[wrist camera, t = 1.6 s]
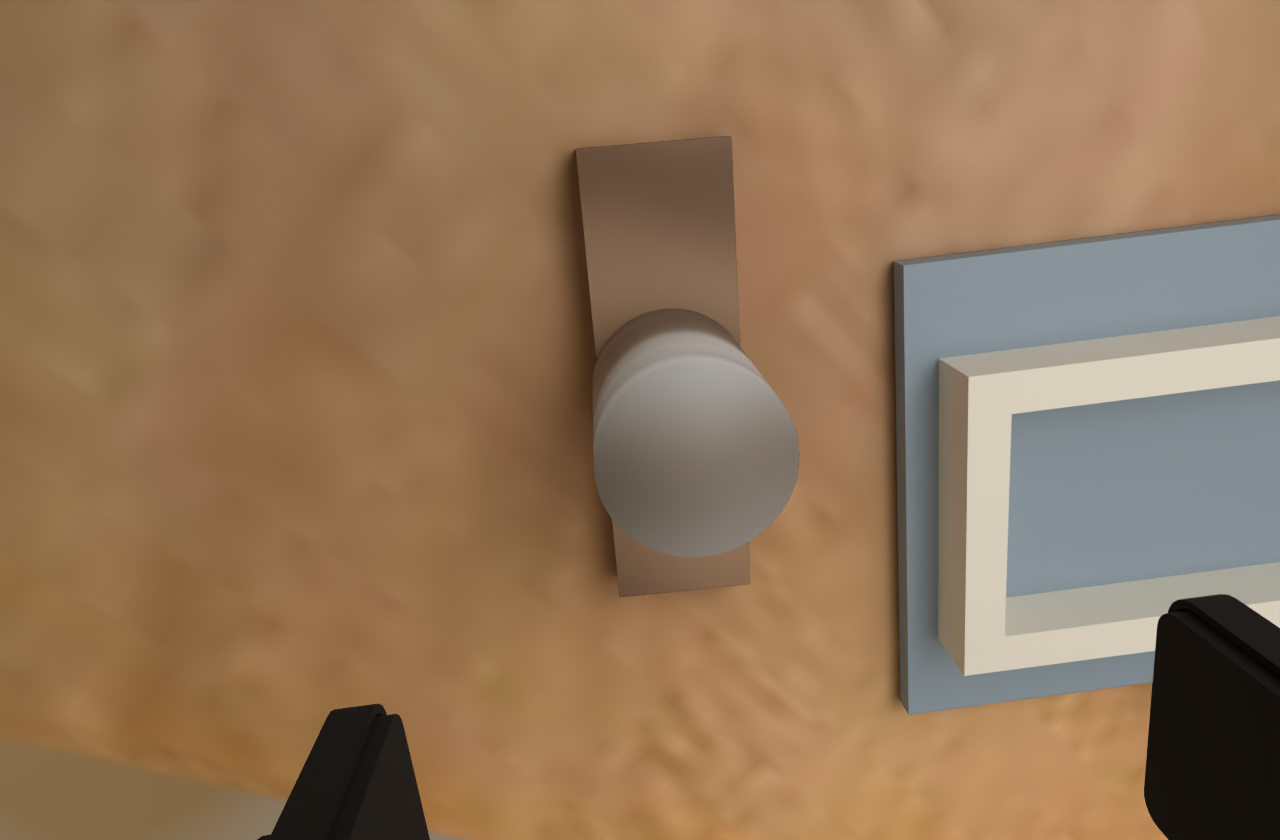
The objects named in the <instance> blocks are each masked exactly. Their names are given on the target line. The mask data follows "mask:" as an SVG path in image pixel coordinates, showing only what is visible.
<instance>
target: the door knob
mask: <svg viewBox="0 0 1280 840" xmlns="http://www.w3.org/2000/svg"><path fill="white" fill-rule="evenodd" d="M576 158H577V168H578V178H579V188H580V199H581V209H582V219H583V229H584V239H585V250H586V260H587V270H588V280H589V290H590V301H591V311H592V321H593V331H594V342H595V352H596V364H595V368H594V372H593V379H592V406H593V457H594V477H595V482H596V487H597V490H598V493H599V497H600V499H601V501H602V503H603V505H604V507H605V509H606V511H607V512H608V514H609V515H610V517H611V518H612V525H613V535H614V546H615V556H616V566H617V576H618V587H619V597H627V596H637V595H647V594H657V593H667V592H677V591H687V590H697V589H707V588H717V587H727V586H737V585H747V584H750V570H749V546H748V541H750V540H752V539H753V538H755V537H756V536H758V535H759V534H760V533H762V532H763V531H764V530H765V529H766V528H767V527H768V526H769V525H770V524H772V522H773V521H774V520H775V519H776V518H777V517H778V515H779V514H780V513H781V511H782V510H783V508H784V507H785V505H786V504H787V502H788V500H789V498H790V496H791V494H792V492H793V489H794V486H795V483H796V480H797V475H798V469H799V456H800V453H799V442H798V438H797V433H796V429H795V427H794V424H793V422H792V419H791V417H790V415H789V413H788V412H787V410H786V408H785V406H784V405H783V404H782V402H781V401H780V400H779V398H778V397H777V396H776V394H775V393H774V392H773V390H772V389H771V387H770V386H769V385H768V383H767V382H766V381H765V379H764V378H763V377H762V375H761V374H760V373H759V371H758V370H757V369H756V367H755V366H754V365H753V363H752V362H751V361H750V359H749V358H748V357H747V355H746V354H745V353H744V351H743V350H742V348H741V347H740V331H739V307H738V283H737V259H736V235H735V211H734V187H733V163H732V139H731V136H722V137H710V138H698V139H686V140H674V141H662V142H650V143H638V144H626V145H614V146H602V147H590V148H578V149H576Z"/></svg>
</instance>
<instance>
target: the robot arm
mask: <svg viewBox="0 0 1280 840" xmlns="http://www.w3.org/2000/svg"><path fill="white" fill-rule="evenodd" d="M1144 797H1145V802H1146V806H1147V808H1148V811H1149V813H1150V815H1151V817H1152V819H1153V821H1154V822H1155V824H1156V825H1157V827H1158V828H1159V829H1160V830H1161V831H1162V832H1163V834H1164V835H1165V836H1166V837H1167V838H1168V840H1280V628H1279V627H1278V626H1276V625H1275V624H1273V623H1272V622H1270V621H1269V620H1267V619H1266V618H1264V617H1263V616H1261V615H1260V614H1258V613H1257V612H1255V611H1254V610H1252V609H1251V608H1250V607H1248V606H1247V605H1245V604H1244V603H1242V602H1241V601H1239V600H1238V599H1236V598H1234V597H1232V596H1230V595H1228V594H1217V595H1210V596H1202V597H1194V598H1187V599H1179V600H1177V601H1175V602H1173V603H1172V604H1171V606H1170V607H1169V610H1168V613H1166V614H1163V615H1162V616H1161V617H1160V618H1159V620H1158V624H1157V634H1156V646H1155V659H1154V672H1153V684H1152V697H1151V709H1150V722H1149V735H1148V747H1147V760H1146V773H1145V785H1144ZM258 840H430V839H429V834H428V830H427V825H426V821H425V817H424V813H423V808H422V804H421V800H420V795H419V791H418V787H417V782H416V778H415V774H414V770H413V765H412V761H411V757H410V752H409V748H408V744H407V740H406V735H405V731H404V727H403V723H402V720H401V718H400V716H399V715H398V714H392V715H387V714H386V711H385V709H384V708H383V706H382V705H380V704H373V705H365V706H358V707H350V708H342V709H335V710H333V711H331V712H330V714H329V715H328V717H327V719H326V721H325V723H324V725H323V727H322V729H321V731H320V733H319V735H318V737H317V740H316V742H315V744H314V746H313V748H312V750H311V752H310V754H309V756H308V758H307V760H306V763H305V765H304V767H303V769H302V771H301V773H300V775H299V777H298V779H297V781H296V784H295V786H294V788H293V790H292V792H291V794H290V796H289V798H288V800H287V802H286V805H285V807H284V809H283V811H282V813H281V815H280V817H279V819H278V821H277V823H276V826H275V828H274V830H273V832H272V834H271V835H266V836H262V837H260V838H259V839H258Z"/></svg>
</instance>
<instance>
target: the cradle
mask: <svg viewBox="0 0 1280 840" xmlns="http://www.w3.org/2000/svg"><path fill="white" fill-rule="evenodd" d="M894 321H895V387H896V454H897V520H898V587H899V653H900V700H901V702H902V704H903V706H904V707H905V709H906V711H907V713H908V714H909V715H910V714H917V713H925V712H932V711H940V710H947V709H955V708H962V707H970V706H977V705H985V704H992V703H1000V702H1007V701H1015V700H1023V699H1030V698H1038V697H1045V696H1053V695H1060V694H1068V693H1075V692H1083V691H1090V690H1098V689H1105V688H1113V687H1120V686H1128V685H1135V684H1143V683H1150V682H1153V672H1154V659H1155V646H1156V634H1157V624H1158V620H1159V618H1160V617H1161V616H1162V615H1163V614H1166V613H1168V610H1169V607H1170V606H1171V604H1172V603H1173V602H1175V601H1177V600H1179V599H1187V598H1194V597H1202V596H1210V595H1217V594H1228V595H1230V596H1232V597H1234V598H1236V599H1238V600H1239V601H1241V602H1242V603H1244V604H1245V605H1247V606H1248V607H1250V608H1251V609H1252V610H1254V611H1255V612H1257V613H1258V614H1260V615H1261V616H1263V617H1264V618H1266V619H1267V620H1269V621H1270V622H1272V623H1273V624H1275V625H1276V626H1278V627H1279V628H1280V215H1272V216H1263V217H1255V218H1247V219H1239V220H1231V221H1222V222H1214V223H1206V224H1198V225H1190V226H1181V227H1173V228H1165V229H1157V230H1149V231H1140V232H1132V233H1124V234H1116V235H1108V236H1099V237H1091V238H1083V239H1075V240H1067V241H1058V242H1050V243H1042V244H1034V245H1026V246H1017V247H1009V248H1001V249H993V250H985V251H976V252H968V253H960V254H952V255H944V256H935V257H927V258H919V259H911V260H903V261H894Z"/></svg>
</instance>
